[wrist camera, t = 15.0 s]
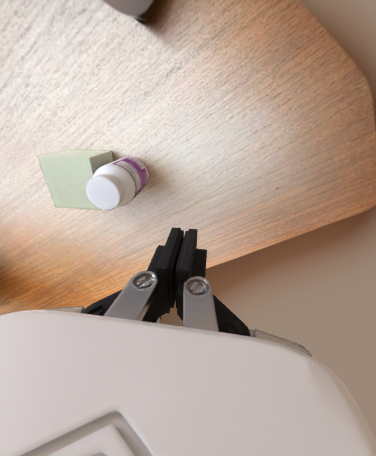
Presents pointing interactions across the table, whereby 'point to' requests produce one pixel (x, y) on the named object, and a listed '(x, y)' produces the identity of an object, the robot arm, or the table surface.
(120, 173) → the pill bottle
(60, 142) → the table surface
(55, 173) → the sage block
